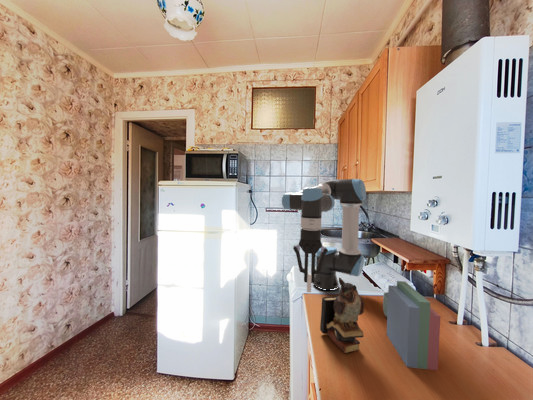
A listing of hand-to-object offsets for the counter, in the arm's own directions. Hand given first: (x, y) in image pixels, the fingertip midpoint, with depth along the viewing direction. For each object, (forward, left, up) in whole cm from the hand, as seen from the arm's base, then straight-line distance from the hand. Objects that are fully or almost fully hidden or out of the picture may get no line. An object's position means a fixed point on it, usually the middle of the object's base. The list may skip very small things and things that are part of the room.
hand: (308, 290), depth 80 cm
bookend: (-1, +13, -19) cm, 23 cm away
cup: (-21, +39, -19) cm, 48 cm away
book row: (0, +36, -19) cm, 40 cm away
